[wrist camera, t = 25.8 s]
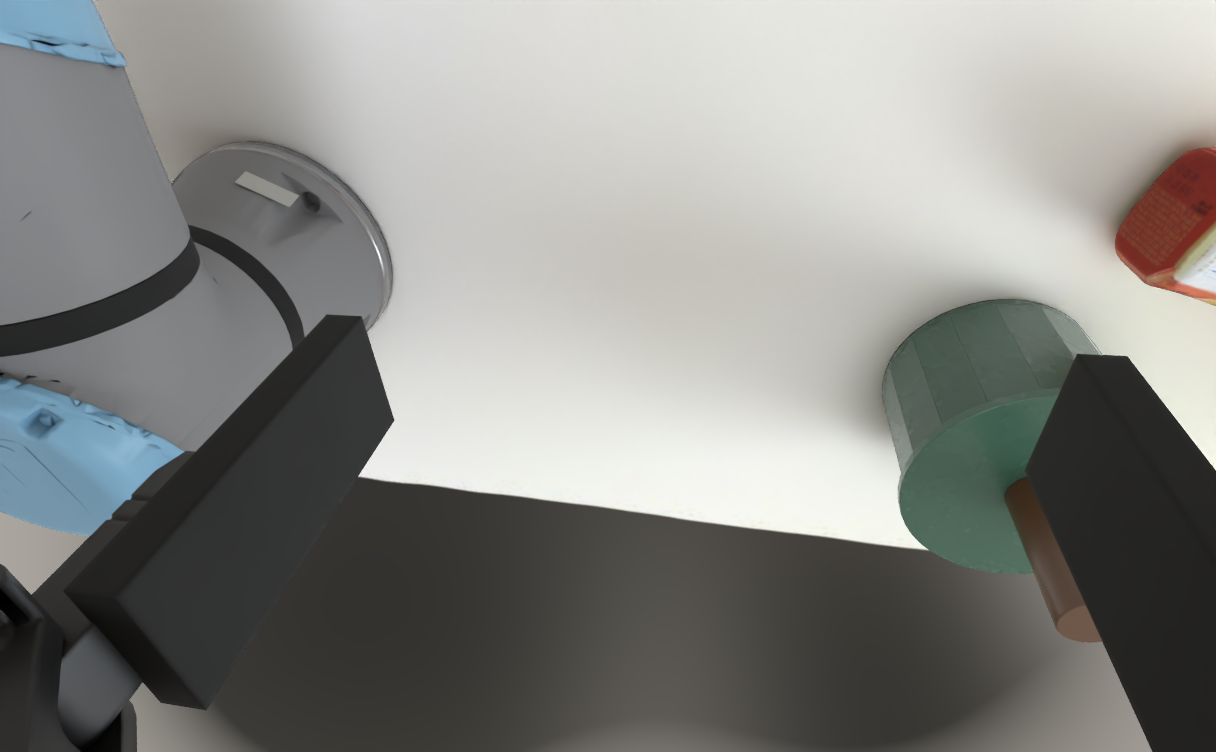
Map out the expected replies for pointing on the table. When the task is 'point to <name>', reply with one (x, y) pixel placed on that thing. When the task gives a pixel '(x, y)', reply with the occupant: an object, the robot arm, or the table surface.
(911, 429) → the tin
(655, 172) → the table surface
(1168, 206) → the snack package
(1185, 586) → the robot arm
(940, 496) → the lid
